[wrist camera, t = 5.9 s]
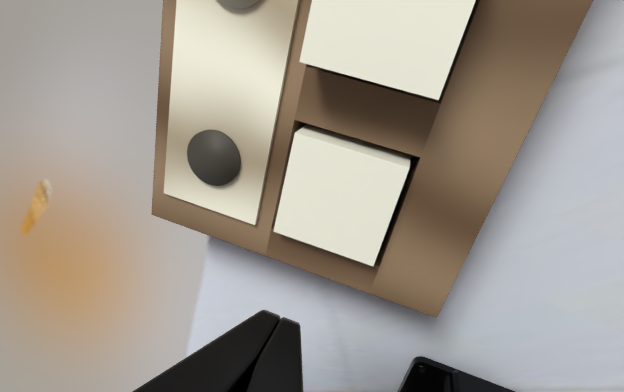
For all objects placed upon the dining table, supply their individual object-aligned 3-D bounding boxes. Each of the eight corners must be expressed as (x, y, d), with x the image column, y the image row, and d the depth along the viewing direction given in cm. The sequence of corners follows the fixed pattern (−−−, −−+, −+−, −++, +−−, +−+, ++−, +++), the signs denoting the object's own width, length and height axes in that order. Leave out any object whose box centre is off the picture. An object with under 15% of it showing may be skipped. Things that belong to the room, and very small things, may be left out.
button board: (433, 279, 18) (436, 324, 15) (186, 193, 21) (146, 217, 17) (746, -400, 9) (906, -617, 6) (246, -432, 11) (184, -608, 8)
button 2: (380, 233, 18) (373, 266, 15) (294, 204, 18) (273, 231, 16) (411, 147, 16) (409, 167, 13) (314, 119, 16) (294, 132, 14)
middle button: (434, 90, 14) (438, 100, 11) (321, 59, 14) (299, 62, 11) (484, -48, 12) (504, -78, 9) (352, -76, 12) (334, -111, 10)
